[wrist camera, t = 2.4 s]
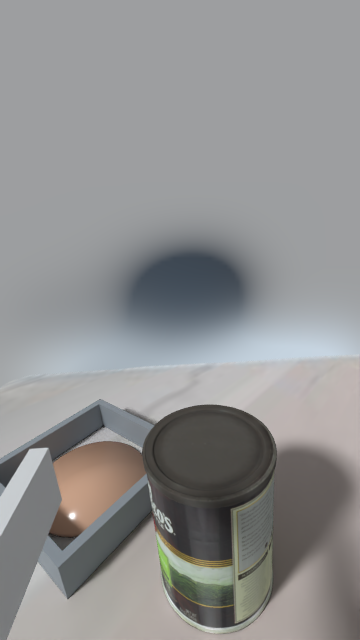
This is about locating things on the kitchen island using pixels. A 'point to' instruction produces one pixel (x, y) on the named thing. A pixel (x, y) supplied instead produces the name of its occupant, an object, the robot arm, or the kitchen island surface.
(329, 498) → the kitchen island surface
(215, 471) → the coffee can
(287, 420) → the kitchen island surface
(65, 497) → the resting pad
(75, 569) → the grey square tray
